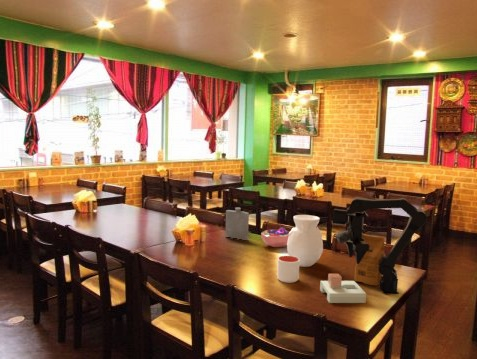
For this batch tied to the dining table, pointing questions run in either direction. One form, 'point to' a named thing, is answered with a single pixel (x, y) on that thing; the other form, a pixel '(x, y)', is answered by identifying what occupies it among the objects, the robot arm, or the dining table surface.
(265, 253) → the dining table surface
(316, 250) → the white vase
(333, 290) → the keyhole plate
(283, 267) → the cup
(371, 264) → the coffee package
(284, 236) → the cell model
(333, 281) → the peg
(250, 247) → the dining table surface
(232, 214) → the hip flask
